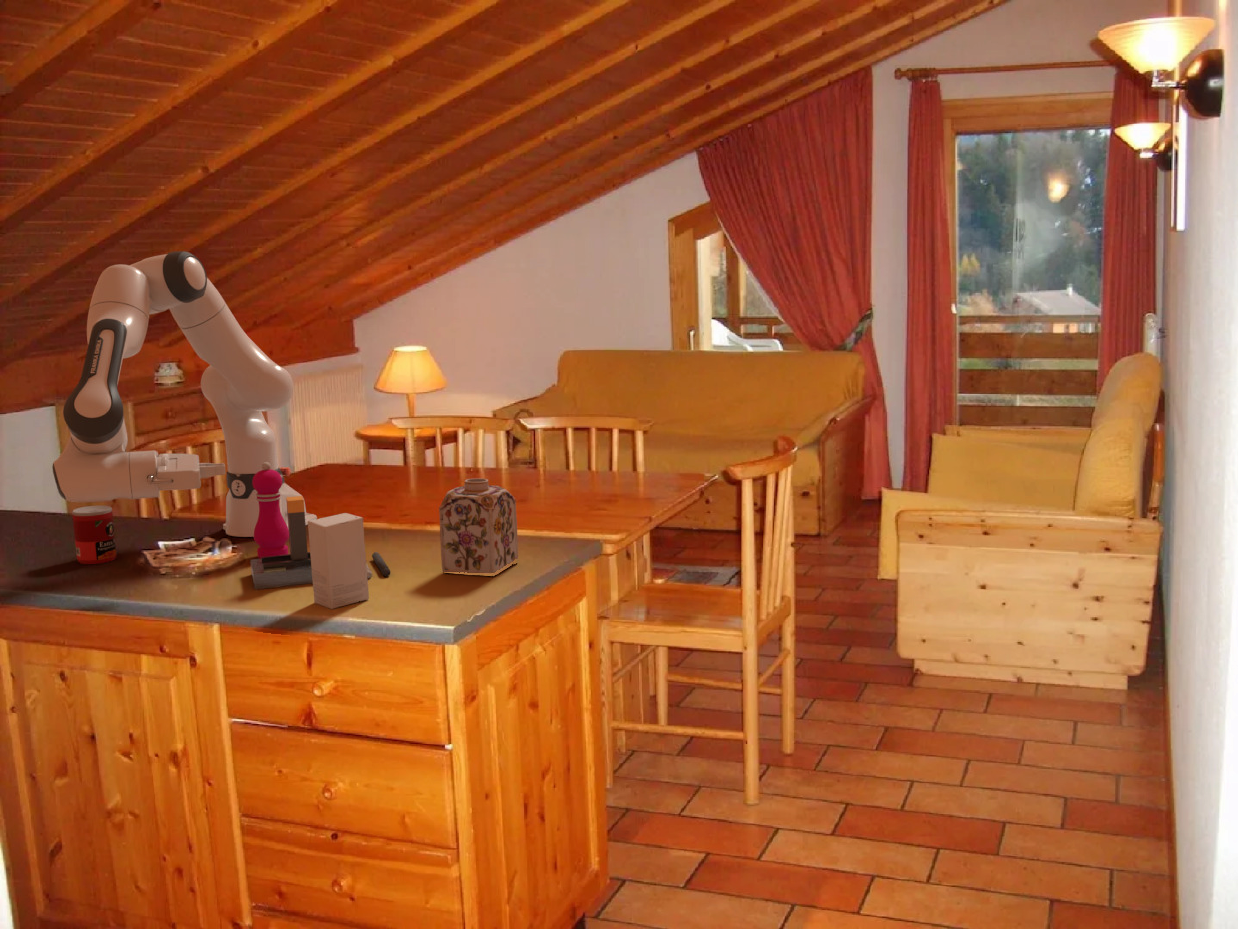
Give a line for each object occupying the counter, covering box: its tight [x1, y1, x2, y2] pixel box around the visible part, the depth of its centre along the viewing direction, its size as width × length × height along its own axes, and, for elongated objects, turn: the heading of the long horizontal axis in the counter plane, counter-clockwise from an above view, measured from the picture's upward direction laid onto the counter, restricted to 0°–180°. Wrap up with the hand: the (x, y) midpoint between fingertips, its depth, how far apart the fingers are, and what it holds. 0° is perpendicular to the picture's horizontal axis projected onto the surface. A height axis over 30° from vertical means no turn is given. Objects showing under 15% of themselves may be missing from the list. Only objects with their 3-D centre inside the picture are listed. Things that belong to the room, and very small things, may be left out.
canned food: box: [71, 505, 117, 565], centre depth 265 cm, size 8×8×11 cm
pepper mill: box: [252, 462, 289, 559], centre depth 264 cm, size 7×7×20 cm
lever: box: [286, 495, 309, 561], centre depth 246 cm, size 3×4×12 cm
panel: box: [250, 551, 313, 590], centre depth 248 cm, size 18×12×4 cm, turn 109°
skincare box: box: [307, 512, 370, 610], centre depth 228 cm, size 8×7×16 cm
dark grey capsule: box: [366, 551, 392, 579], centre depth 252 cm, size 16×5×2 cm, turn 19°
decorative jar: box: [438, 477, 519, 573], centre depth 249 cm, size 12×12×18 cm
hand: (225, 468), depth 240 cm, fingers closed
